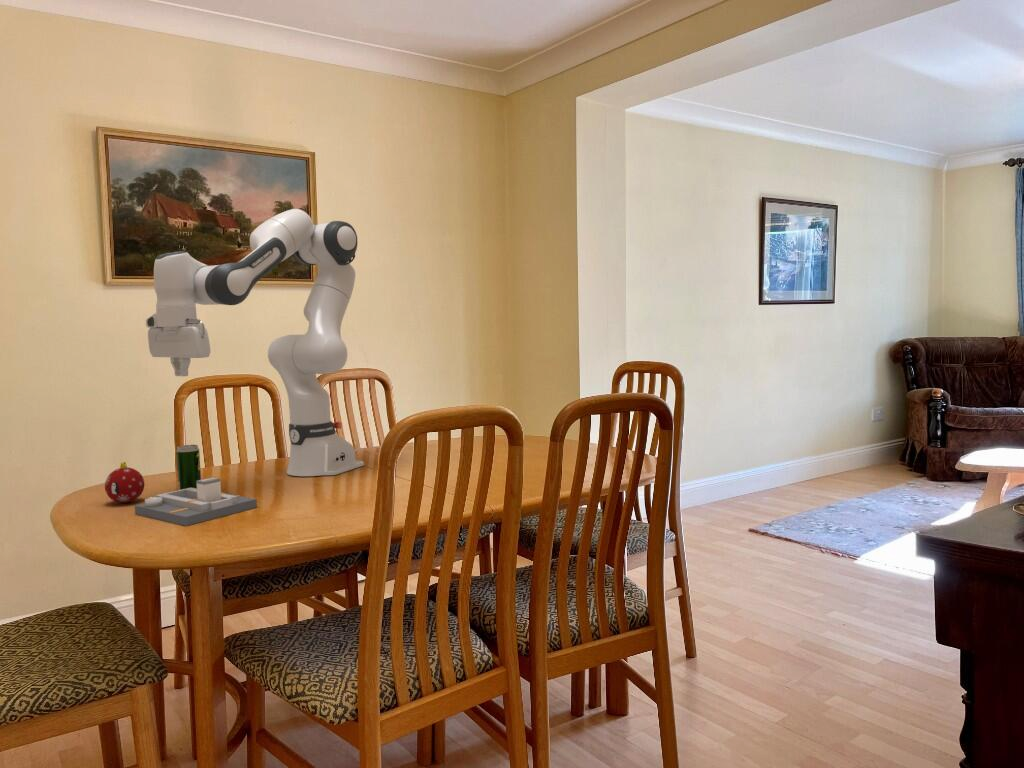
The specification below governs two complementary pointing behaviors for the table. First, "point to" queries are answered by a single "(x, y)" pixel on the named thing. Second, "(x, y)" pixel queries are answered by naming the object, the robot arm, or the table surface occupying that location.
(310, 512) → the table surface
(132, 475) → the christmas ornament
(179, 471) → the beer can
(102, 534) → the table surface
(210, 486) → the fader tab
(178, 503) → the console
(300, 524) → the table surface
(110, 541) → the table surface
